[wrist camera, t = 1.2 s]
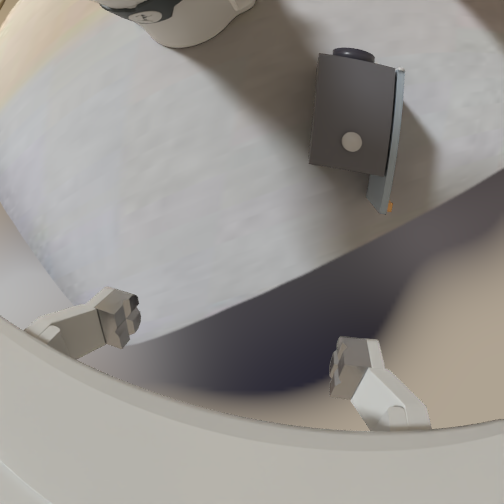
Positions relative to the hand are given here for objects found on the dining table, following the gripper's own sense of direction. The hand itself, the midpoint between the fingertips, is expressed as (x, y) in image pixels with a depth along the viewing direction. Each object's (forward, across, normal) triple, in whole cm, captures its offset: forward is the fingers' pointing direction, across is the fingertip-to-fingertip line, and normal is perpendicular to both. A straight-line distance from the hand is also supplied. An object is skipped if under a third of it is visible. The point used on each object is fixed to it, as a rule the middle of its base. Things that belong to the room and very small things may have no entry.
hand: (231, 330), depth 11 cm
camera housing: (+29, -6, -10) cm, 32 cm away
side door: (+29, -11, -9) cm, 32 cm away
